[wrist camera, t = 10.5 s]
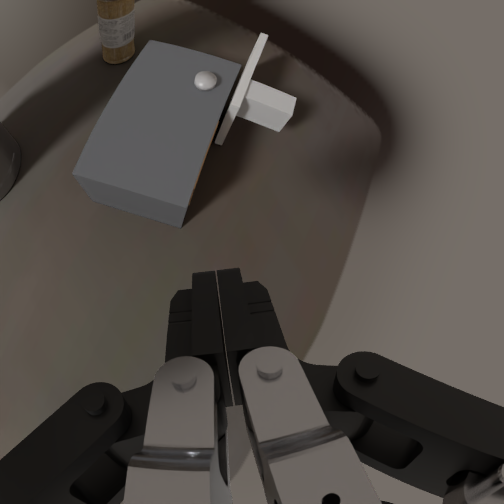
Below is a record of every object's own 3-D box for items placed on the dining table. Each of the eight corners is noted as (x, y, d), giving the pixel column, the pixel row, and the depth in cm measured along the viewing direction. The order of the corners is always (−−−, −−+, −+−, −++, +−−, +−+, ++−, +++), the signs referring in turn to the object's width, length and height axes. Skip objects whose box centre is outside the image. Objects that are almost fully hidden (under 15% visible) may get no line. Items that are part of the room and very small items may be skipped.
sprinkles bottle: (122, 39, 30) (121, -35, 17) (141, 52, 30) (145, -26, 18) (96, 56, 28) (86, -19, 16) (114, 70, 29) (108, -9, 16)
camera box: (92, 201, 27) (69, 170, 19) (152, 78, 30) (154, 29, 22) (181, 228, 30) (189, 206, 21) (227, 100, 33) (247, 54, 25)
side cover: (214, 143, 32) (230, 104, 24) (242, 72, 34) (261, 32, 26) (262, 160, 33) (290, 127, 25) (283, 88, 35) (308, 52, 28)
